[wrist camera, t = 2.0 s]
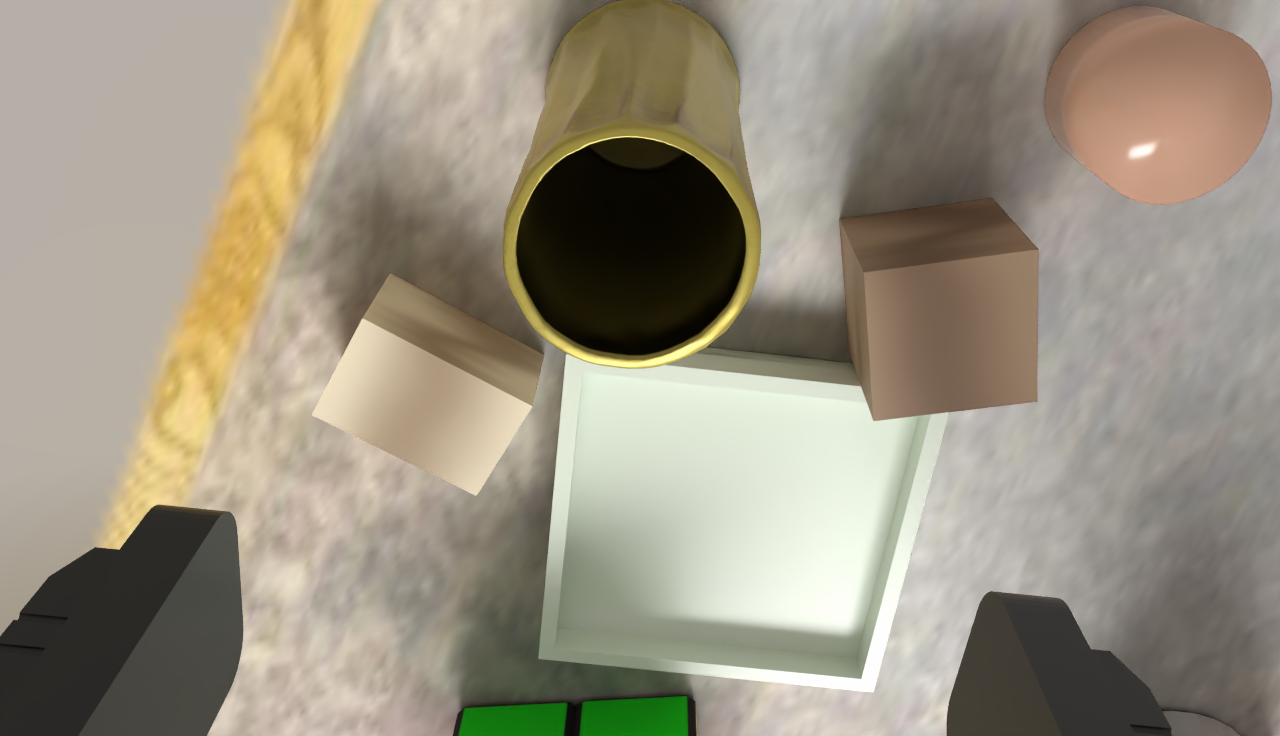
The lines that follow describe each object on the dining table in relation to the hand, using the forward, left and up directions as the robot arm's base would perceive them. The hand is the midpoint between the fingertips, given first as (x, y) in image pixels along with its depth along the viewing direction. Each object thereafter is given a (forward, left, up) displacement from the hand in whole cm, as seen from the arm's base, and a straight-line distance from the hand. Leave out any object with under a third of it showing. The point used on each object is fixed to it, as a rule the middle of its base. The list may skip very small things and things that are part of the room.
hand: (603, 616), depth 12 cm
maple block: (+6, +10, -26) cm, 28 cm away
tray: (-5, +15, -25) cm, 30 cm away
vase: (0, 0, -26) cm, 26 cm away
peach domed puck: (-15, -2, -26) cm, 30 cm away
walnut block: (-10, +5, -26) cm, 28 cm away
